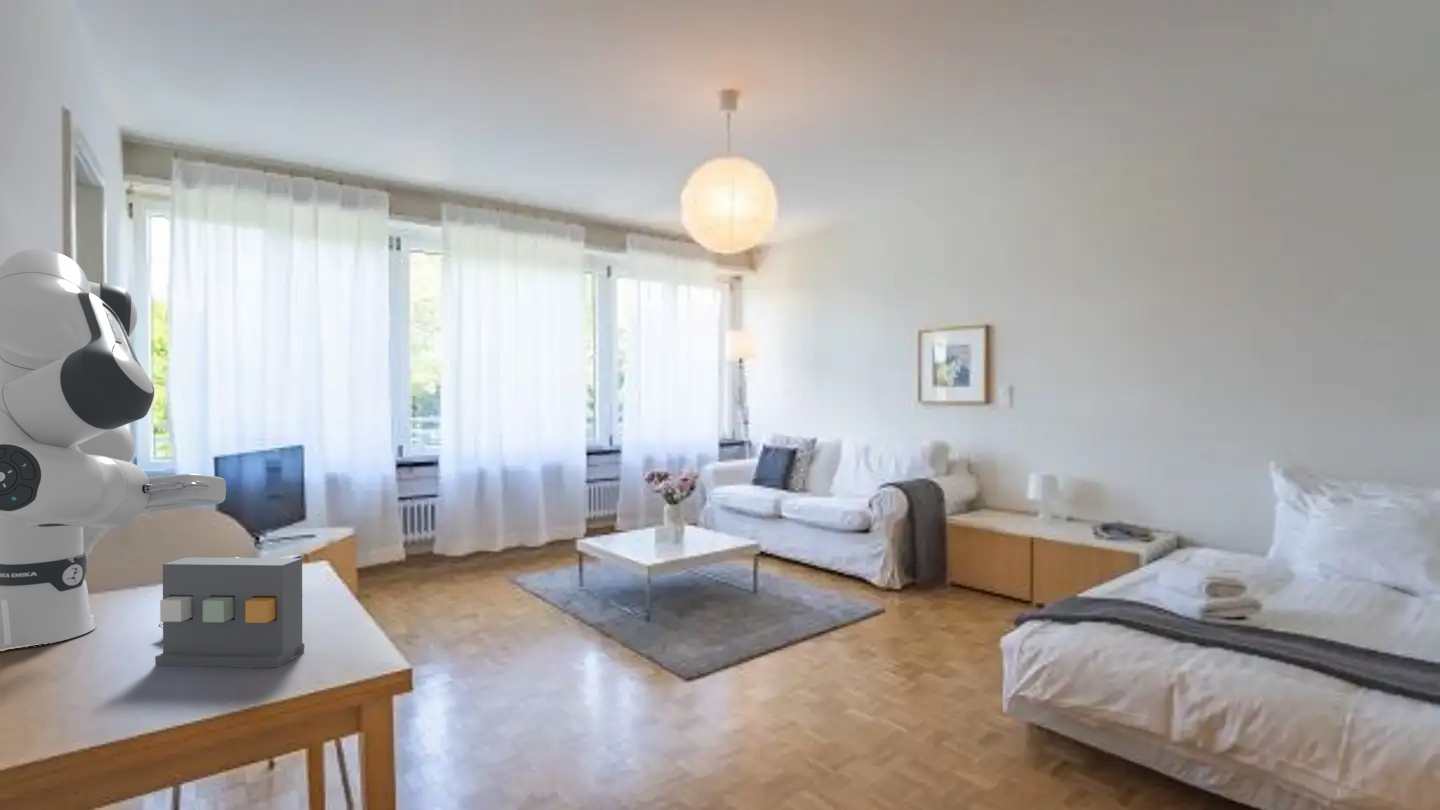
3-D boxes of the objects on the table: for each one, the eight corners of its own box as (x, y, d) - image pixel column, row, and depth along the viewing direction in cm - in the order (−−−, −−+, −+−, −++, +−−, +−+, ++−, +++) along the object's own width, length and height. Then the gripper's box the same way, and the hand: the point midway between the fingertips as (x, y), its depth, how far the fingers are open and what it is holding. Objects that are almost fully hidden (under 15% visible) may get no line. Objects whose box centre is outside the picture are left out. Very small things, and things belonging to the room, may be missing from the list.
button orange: (245, 622, 111) (245, 601, 111) (258, 616, 114) (258, 595, 114) (266, 622, 111) (266, 601, 111) (278, 617, 114) (278, 596, 114)
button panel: (155, 665, 112) (154, 566, 112) (190, 650, 119) (189, 556, 119) (276, 667, 111) (276, 567, 111) (304, 651, 118) (304, 557, 118)
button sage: (202, 621, 111) (202, 600, 111) (217, 616, 114) (217, 595, 114) (223, 622, 111) (223, 601, 111) (237, 616, 114) (237, 595, 114)
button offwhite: (160, 621, 111) (160, 600, 111) (175, 615, 114) (175, 594, 114) (180, 621, 111) (180, 600, 111) (195, 615, 114) (195, 595, 114)
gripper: (194, 458, 92) (248, 473, 105) (15, 478, 88) (94, 490, 102) (193, 506, 91) (248, 514, 104) (12, 528, 87) (92, 534, 100)
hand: (170, 503), depth 103 cm, fingers open, 8 cm apart
